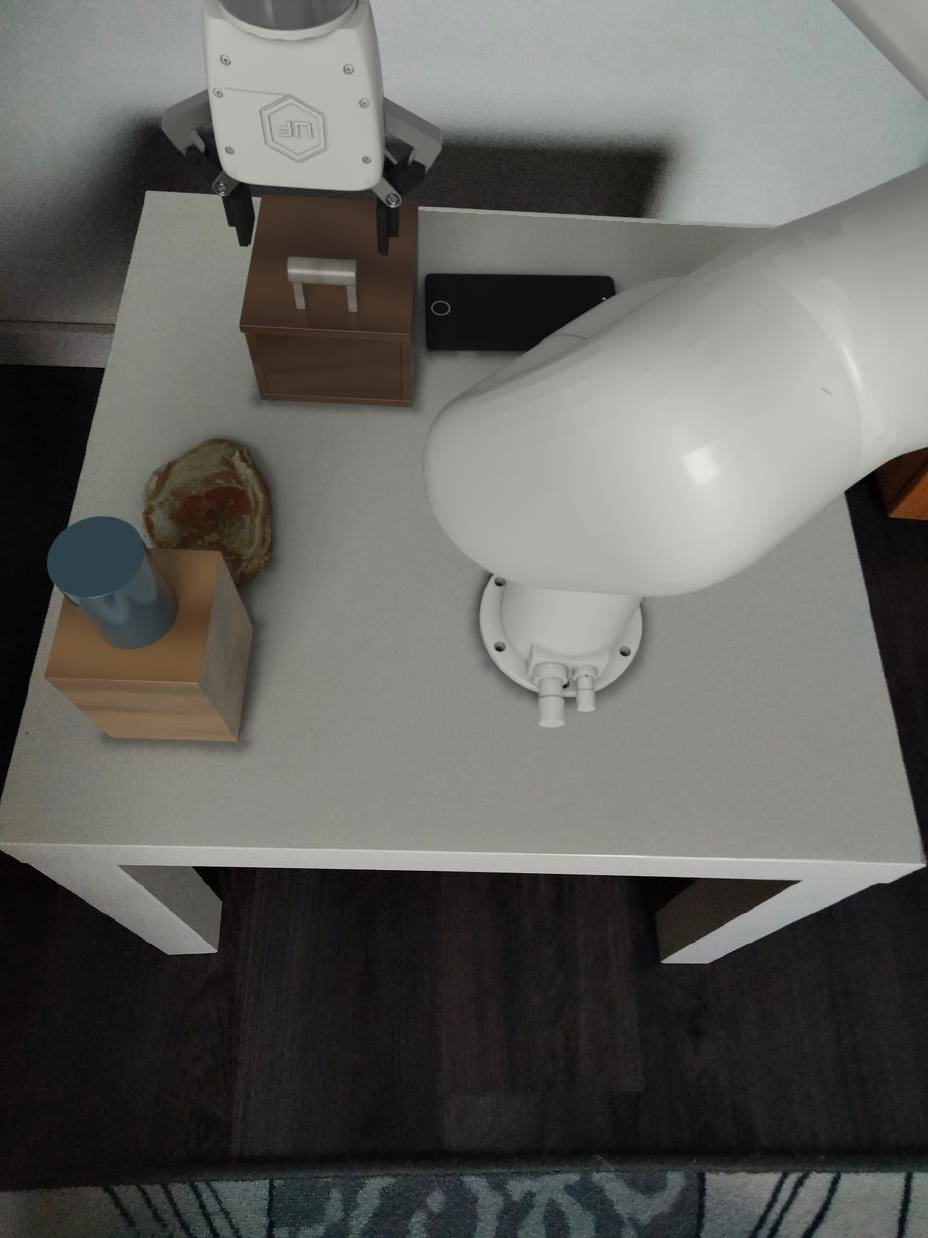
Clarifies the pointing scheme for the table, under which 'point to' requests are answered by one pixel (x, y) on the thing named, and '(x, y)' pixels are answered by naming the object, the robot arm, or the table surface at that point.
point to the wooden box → (336, 366)
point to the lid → (329, 271)
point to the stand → (164, 660)
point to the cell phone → (505, 308)
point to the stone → (212, 507)
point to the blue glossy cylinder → (113, 581)
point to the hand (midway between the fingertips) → (316, 236)
